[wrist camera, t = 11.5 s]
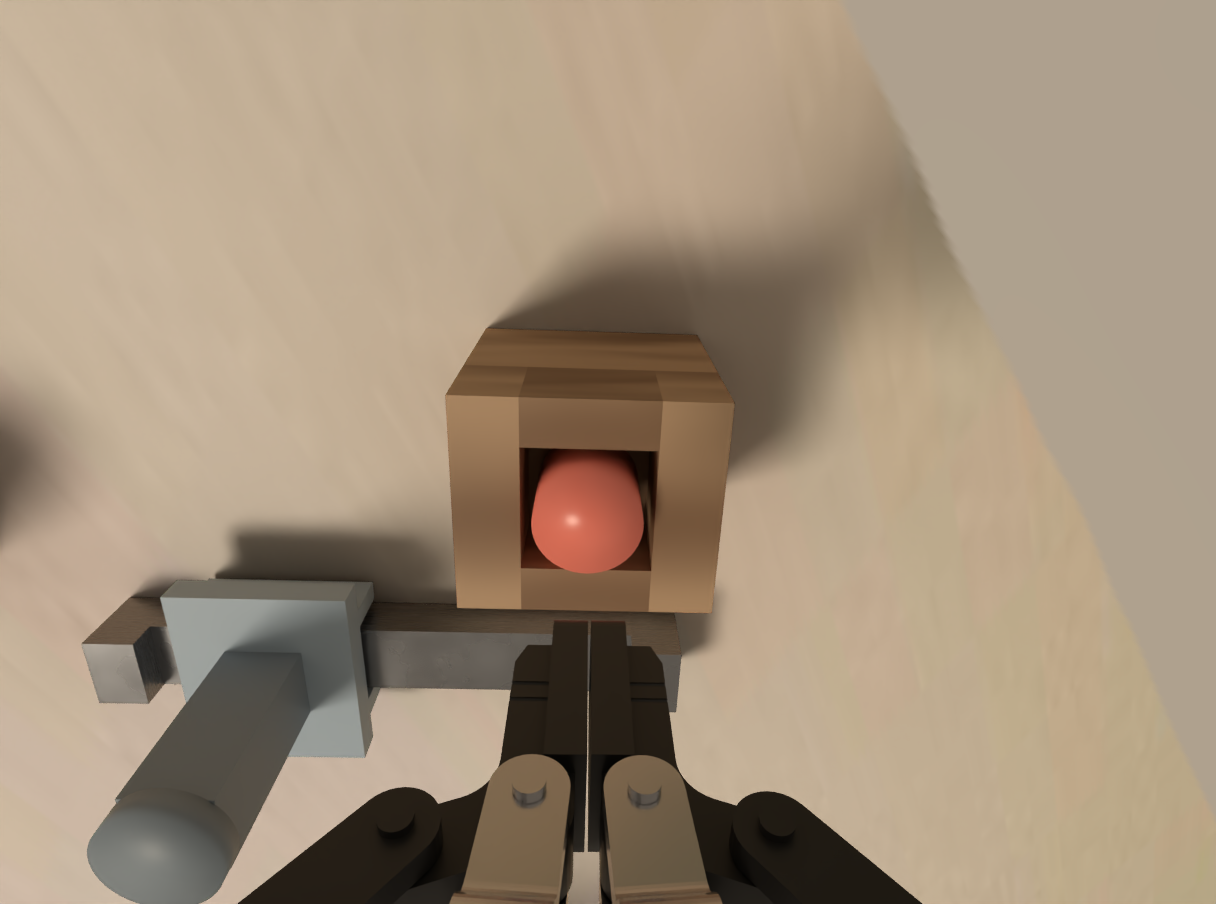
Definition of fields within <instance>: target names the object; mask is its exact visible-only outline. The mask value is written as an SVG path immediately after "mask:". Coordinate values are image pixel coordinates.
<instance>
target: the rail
mask: <svg viewBox="0 0 1216 904" xmlns="http://www.w3.org/2000/svg"><path fill="white" fill-rule="evenodd" d="M554 620H582V621H588V691H589V669H590V636H591V620H592V621H625V624H626V637H627V646H650V647H651V648H652V649H653V651H654V652H655V654H656V655H657V656H658V658H659V659H660V661H661V662H662V663H663V670H664V678H665V687H666V693H667V703H668V707H669V712H676V707H677V696H678V686H679V675H680V664H681V650H680V644H679V638H678V632H677V626H676V621H675V615H674V612H630V611H581V610H532V609H482V608H457V604H422V603H373V602H372V603H371V606H370V608H369V610H368V612H367V614H366V616H365V618H364V620H363V622H362V624H361V626H360V632H361V641H362V649H363V657H364V665H365V674H366V682H367V687H381V688H440V689H499V690H511V686H512V679H513V672H514V665H515V661H516V660H517V658H518V657H519V656H520V654H521V653H522V652H523V650H524V649H525V648H526V646H527V645H552V637H553V624H554ZM81 645H82V648H83V651H84V654H85V658H86V661H87V664H88V667H89V671H90V674H91V677H92V680H93V684H94V687H95V690H96V693H97V697H98V700H99V703H135V704H149V703H150V701H151V700H152V699H153V698H154V696H155V695H156V694H157V693H158V691H159V690H160V689H161V688H162V686H163V685H164V684H181V680H180V676H179V672H178V668H177V664H176V660H175V656H174V652H173V647H172V643H171V639H170V635H169V631H168V627H167V623H166V619H165V615H164V611H163V607H162V603H161V599H160V598H129V599H128V600H127V601H125V602H124V603H123V604H122V605H121V606H120V607H119V608H118V609H117V610H116V611H115V612H114V613H113V614H112V615H111V616H110V617H109V618H108V619H107V620H106V621H105V622H104V623H103V624H101V625H100V626H99V627H98V628H97V629H96V630H95V631H94V632H93V633H92V634H91V635H90V636H89V637H88V638H87V639H86V640H85V641H84V642H83V643H82V644H81Z"/></svg>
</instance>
